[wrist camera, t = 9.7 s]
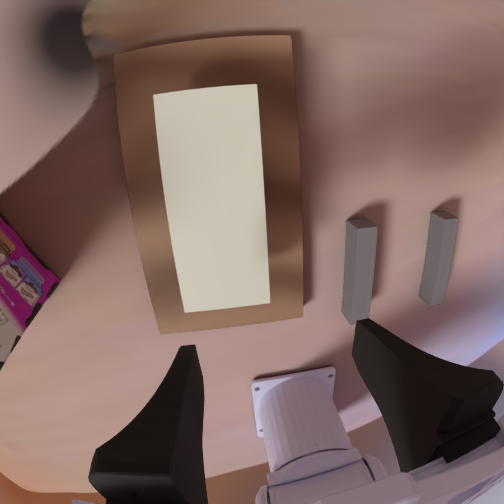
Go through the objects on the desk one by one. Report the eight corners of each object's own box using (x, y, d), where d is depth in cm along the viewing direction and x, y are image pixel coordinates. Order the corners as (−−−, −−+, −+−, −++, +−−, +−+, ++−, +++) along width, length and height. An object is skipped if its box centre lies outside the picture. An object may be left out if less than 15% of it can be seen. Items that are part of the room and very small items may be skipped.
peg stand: (299, 308, 25) (310, 332, 22) (162, 325, 24) (157, 350, 21) (286, 39, 17) (299, 26, 14) (118, 58, 17) (103, 48, 14)
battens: (431, 292, 27) (443, 303, 25) (341, 311, 26) (350, 325, 24) (444, 211, 24) (458, 218, 22) (346, 219, 23) (357, 228, 21)
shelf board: (159, 98, 15) (153, 95, 13) (252, 88, 16) (257, 84, 14) (186, 295, 20) (184, 312, 18) (264, 286, 20) (270, 303, 19)
